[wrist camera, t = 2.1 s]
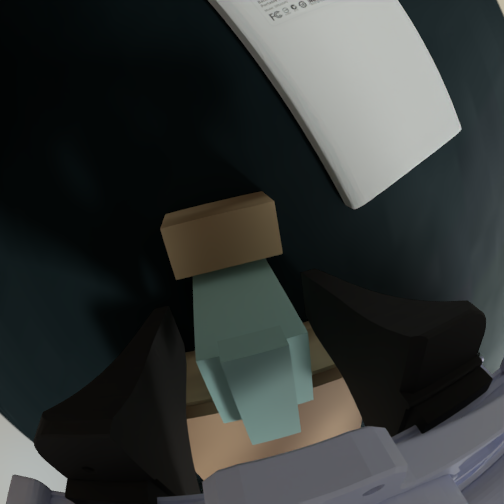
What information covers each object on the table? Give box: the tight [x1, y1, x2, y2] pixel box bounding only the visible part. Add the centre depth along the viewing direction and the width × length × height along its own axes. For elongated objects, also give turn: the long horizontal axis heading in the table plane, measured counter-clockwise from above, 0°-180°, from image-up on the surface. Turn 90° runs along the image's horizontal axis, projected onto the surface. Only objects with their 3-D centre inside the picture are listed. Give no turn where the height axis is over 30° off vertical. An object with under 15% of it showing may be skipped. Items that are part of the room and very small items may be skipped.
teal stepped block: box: [193, 258, 314, 445], centre depth 10 cm, size 3×4×7 cm
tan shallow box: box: [160, 191, 336, 406], centre depth 14 cm, size 9×19×3 cm, turn 10°
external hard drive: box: [208, 0, 461, 209], centre depth 10 cm, size 2×8×12 cm
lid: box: [186, 367, 362, 480], centre depth 13 cm, size 9×12×3 cm
